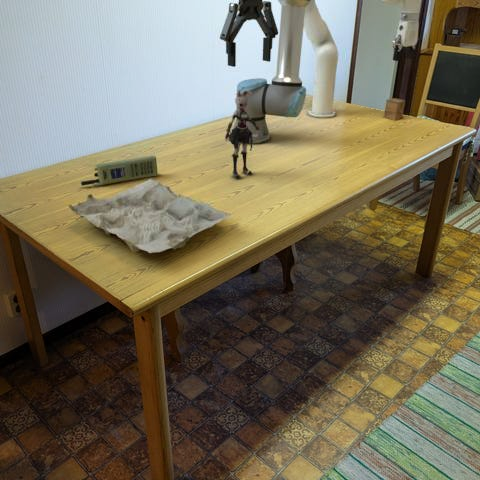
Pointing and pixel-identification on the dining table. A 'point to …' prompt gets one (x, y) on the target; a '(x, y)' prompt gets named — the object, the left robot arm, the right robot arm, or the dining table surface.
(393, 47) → the right robot arm
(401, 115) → the block
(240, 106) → the figurine
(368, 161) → the dining table surface
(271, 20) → the left robot arm
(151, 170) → the handheld radio
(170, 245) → the grey bumpy flat piece
